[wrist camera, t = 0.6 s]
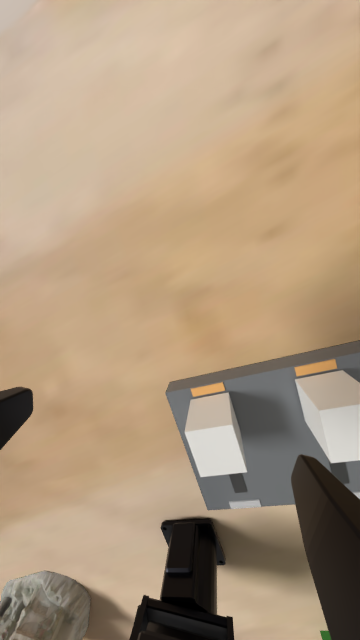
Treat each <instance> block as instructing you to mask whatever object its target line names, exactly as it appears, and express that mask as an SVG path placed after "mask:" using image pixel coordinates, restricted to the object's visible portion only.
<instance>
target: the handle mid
mask: <svg viewBox="0 0 360 640" xmlns="http://www.w3.org/2000/svg"><path fill="white" fill-rule="evenodd" d="M295 382H296V386H297V390H298V394H299V398H300V402H301V406H302V410H303V414H304V418H305V422H306V423H307V425H308V427H309V428H310V430H311V431H312V433H313V435H314V436H315V438H316V440H317V441H318V443H319V444H320V446H321V448H322V449H323V451H324V452H325V454H326V456H327V457H328V459H329V461H330V462H331V463H339V462H348V461H358V460H360V383H359V382H358V381H356V380H355V379H354V378H352V377H351V376H350V375H348V374H347V373H346V372H344V371H343V370H340V371H335V372H330V373H325V374H320V375H315V376H310V377H304V378H299V379H295Z"/></svg>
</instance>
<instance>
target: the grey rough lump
mask: <svg viewBox="0 0 360 640" xmlns="http://www.w3.org/2000/svg"><path fill="white" fill-rule="evenodd" d="M90 601H91V599H90V596H89V594H88V592H87V591H86V589H85V588H84V587H83V586H82V585H81V584H79V583H78V582H77V581H76V580H73V579H71V578H69V577H67V576H65V575H61V574H58V573H55V572H53V573H51V572H48V571H41V572H38V573H36V574H33V575H32V574H31V575H28V576H25V577H23V578H22V577H21V578H17V579H14V580H10V581H9V582H7V583H6V585H5V587H4V589H3V592H2V594H1V601H0V640H82V638H83V636H84V635H85V633H86V630H87V628H88V622H89V613H90Z"/></svg>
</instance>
